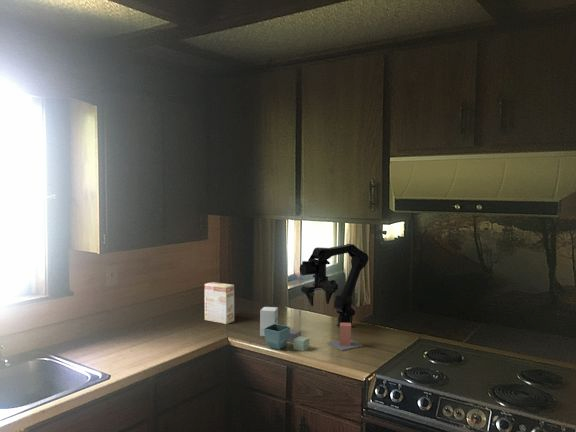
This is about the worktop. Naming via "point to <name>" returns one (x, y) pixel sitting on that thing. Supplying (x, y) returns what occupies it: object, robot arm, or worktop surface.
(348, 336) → the brick-red block
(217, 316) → the coffeecake box
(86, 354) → the worktop surface
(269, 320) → the supplement box
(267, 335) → the flower pot
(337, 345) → the slate mat
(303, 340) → the sage block
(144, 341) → the worktop surface
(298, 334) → the light gray block
